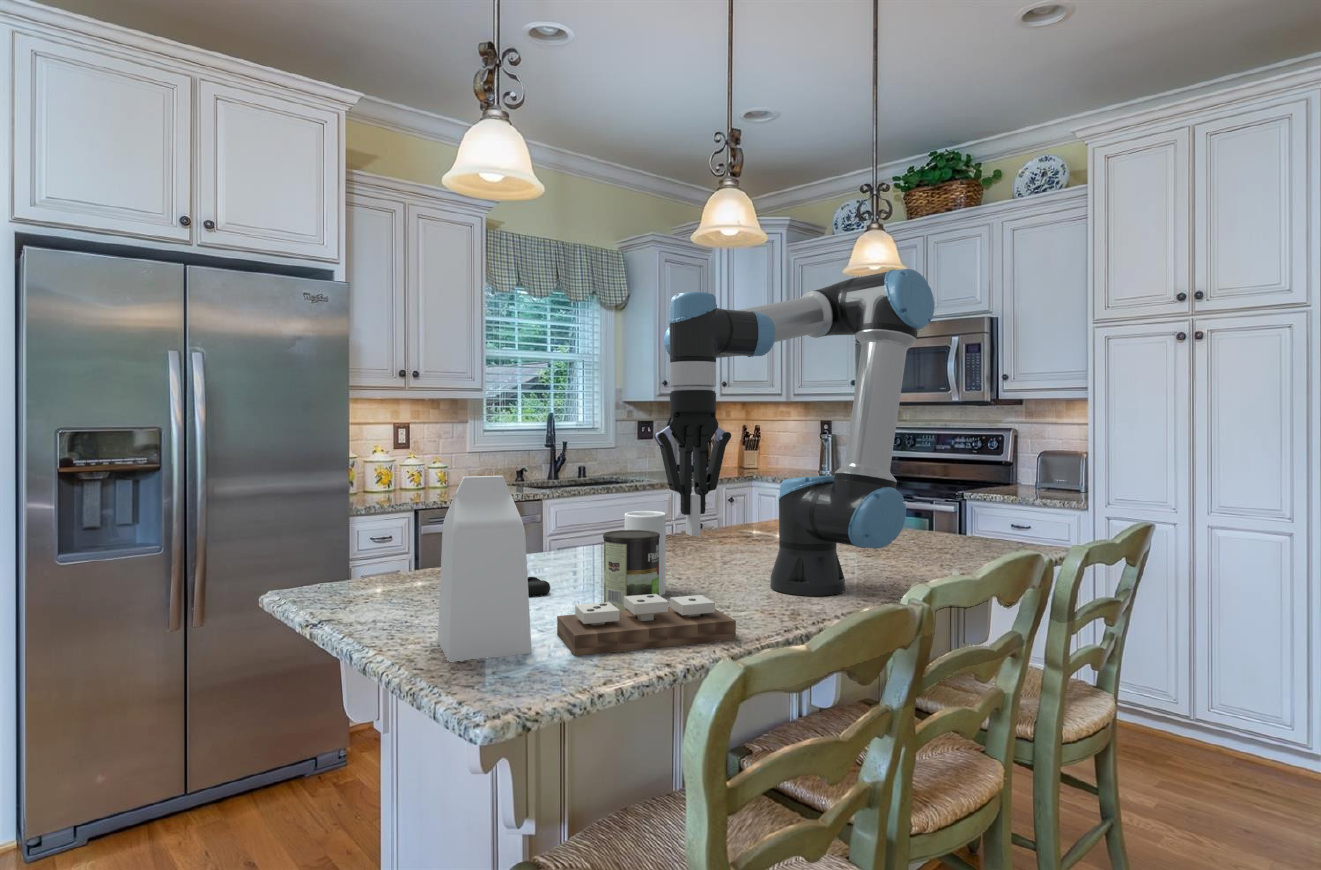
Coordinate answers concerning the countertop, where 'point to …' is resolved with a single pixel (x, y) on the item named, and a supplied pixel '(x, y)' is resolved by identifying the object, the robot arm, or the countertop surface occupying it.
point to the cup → (656, 524)
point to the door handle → (537, 587)
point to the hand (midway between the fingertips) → (693, 534)
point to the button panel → (644, 631)
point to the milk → (483, 574)
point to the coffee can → (630, 565)
